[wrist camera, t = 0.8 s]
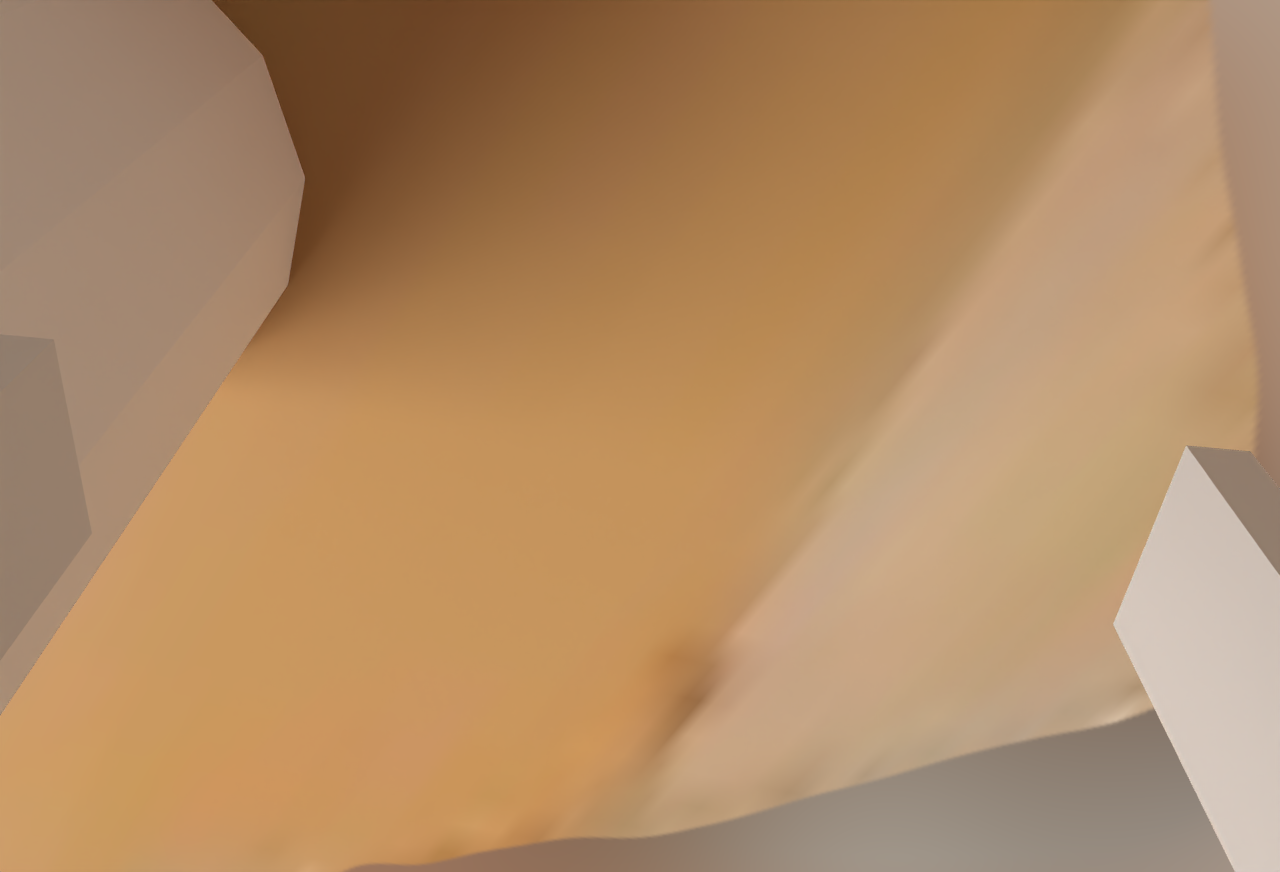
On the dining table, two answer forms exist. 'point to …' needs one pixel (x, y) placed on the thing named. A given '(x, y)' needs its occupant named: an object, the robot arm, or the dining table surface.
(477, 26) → the dining table surface
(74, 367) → the container
